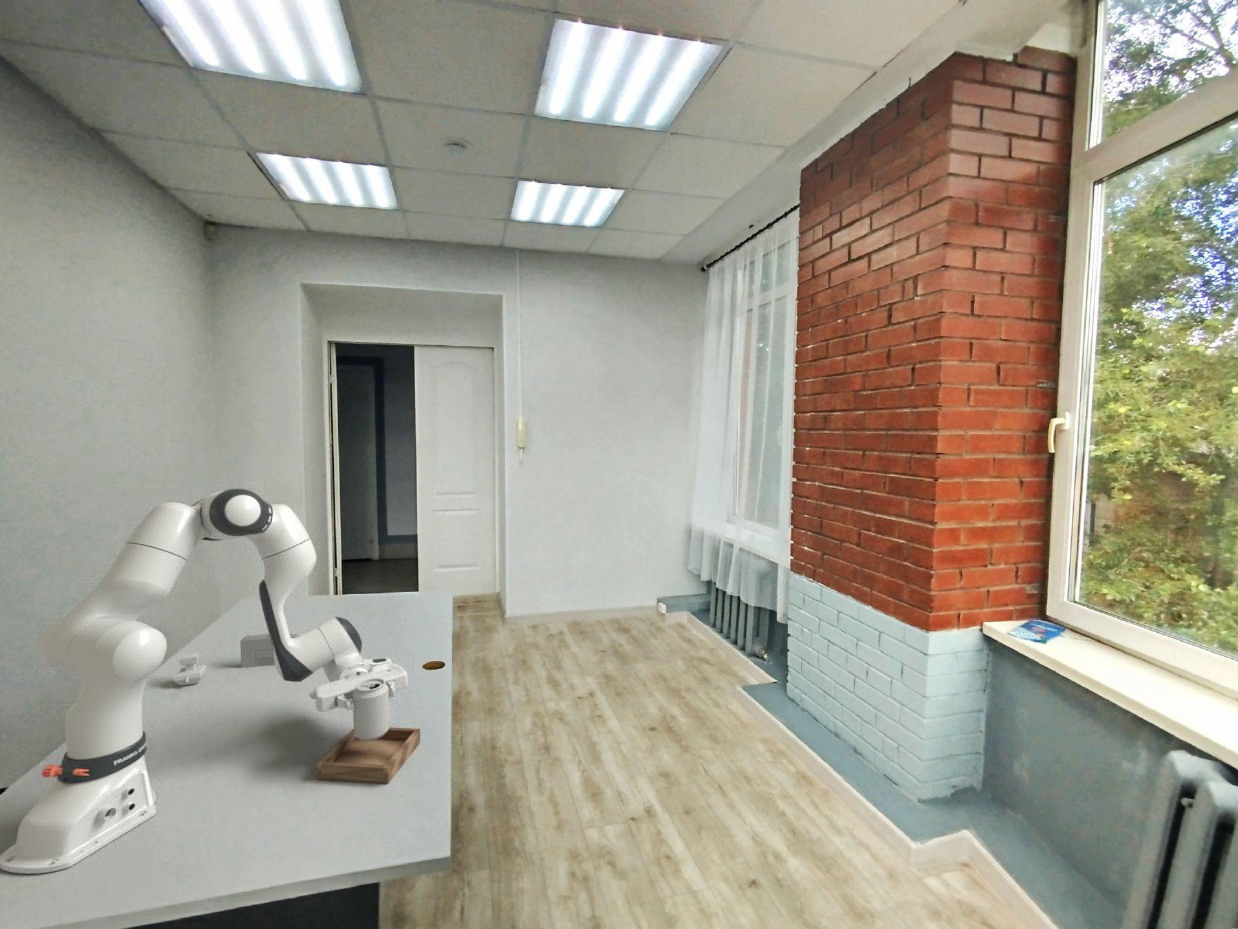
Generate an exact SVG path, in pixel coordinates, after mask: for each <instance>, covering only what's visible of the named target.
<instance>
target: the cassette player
mask: <svg viewBox="0 0 1238 929" xmlns="http://www.w3.org/2000/svg"><path fill="white" fill-rule="evenodd" d="M289 634H290V637H291V638H296V637H298V635H299V634H298V633H289ZM239 642H240V667H241V669H244V668H247V669H248V668H257V667H258V666H259V667H269V666H275V661H274V650H273V646H272V642H271V639H270V635H269V632H268V633H258V634H254V633H253V634H246V635H245V636H244V637H243V638H241V639H240V641H239Z"/></svg>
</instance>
